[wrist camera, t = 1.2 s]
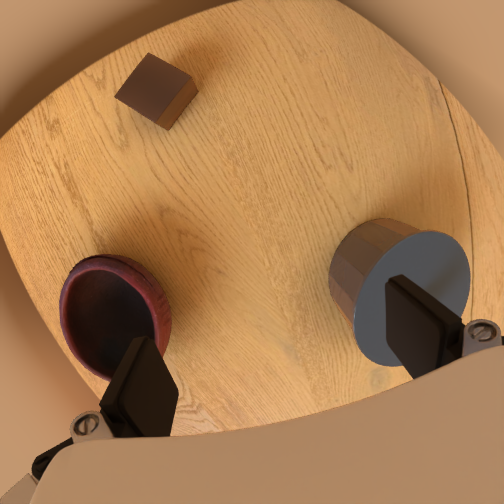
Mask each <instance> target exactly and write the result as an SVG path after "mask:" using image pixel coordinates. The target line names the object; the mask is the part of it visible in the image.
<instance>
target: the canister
mask: <svg viewBox="0 0 504 504" xmlns="http://www.w3.org/2000/svg"><path fill="white" fill-rule="evenodd" d="M417 231H421V230H420V229H417V228H415V227H412V226H409V225H407V224H404V223H401V222H398V221H396V220H393V219H375V220H371V221H368V222H366V223H364V224H362V225H360V226H358V227H357V228H355V229H354V230H353V231H351V232H350V233H349V234H348V235H347V236H346V237H345V238H344V240H343V241H342V242H341V244H340V245H339V247H338V248H337V250H336V252H335V254H334V256H333V259H332V262H331V266H330V271H329V288H330V292H331V296H332V298H333V301H334V302H335V304H336V306H337V308H338V310H339V311H340V313H341V314H342V316H343V317H344V319H345V320H346V321H347V323H348V324H349V326H350V327H351V329H352V321H351V318H352V308H353V303H354V299H355V296H356V293H357V290H358V288H359V285H360V283H361V281H362V279H363V277H364V275H365V274H366V272H367V270H368V269H369V267H370V266H371V265H372V263H373V262H374V261H375V259H376V258H377V257H378V256H379V255H380V254H381V253H382V252H383V251H384V250H385V249H386V248H387V247H388V246H390V245H391V244H392V243H394V242H395V241H396V240H398V239H400V238H401V237H403V236H405V235H408V234H410V233H413V232H417Z"/></svg>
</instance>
